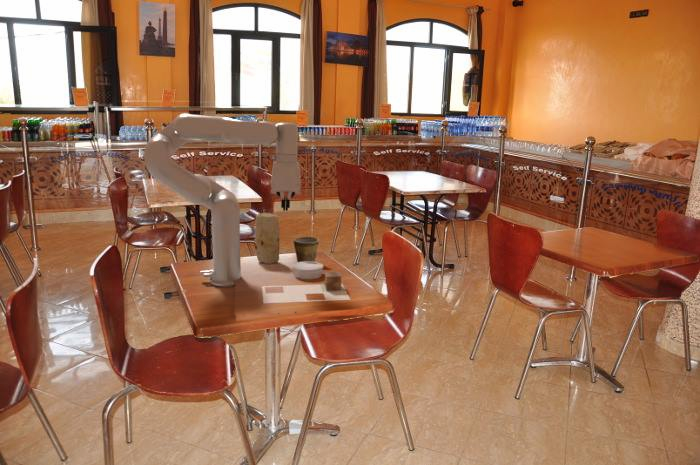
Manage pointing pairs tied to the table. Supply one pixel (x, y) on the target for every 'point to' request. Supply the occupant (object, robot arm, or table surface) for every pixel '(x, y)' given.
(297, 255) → the ceramic cup
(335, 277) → the walnut block
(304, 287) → the trap deck
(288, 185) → the robot arm
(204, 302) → the table surface
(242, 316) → the table surface
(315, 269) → the ramekin
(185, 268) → the table surface
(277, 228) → the food model
